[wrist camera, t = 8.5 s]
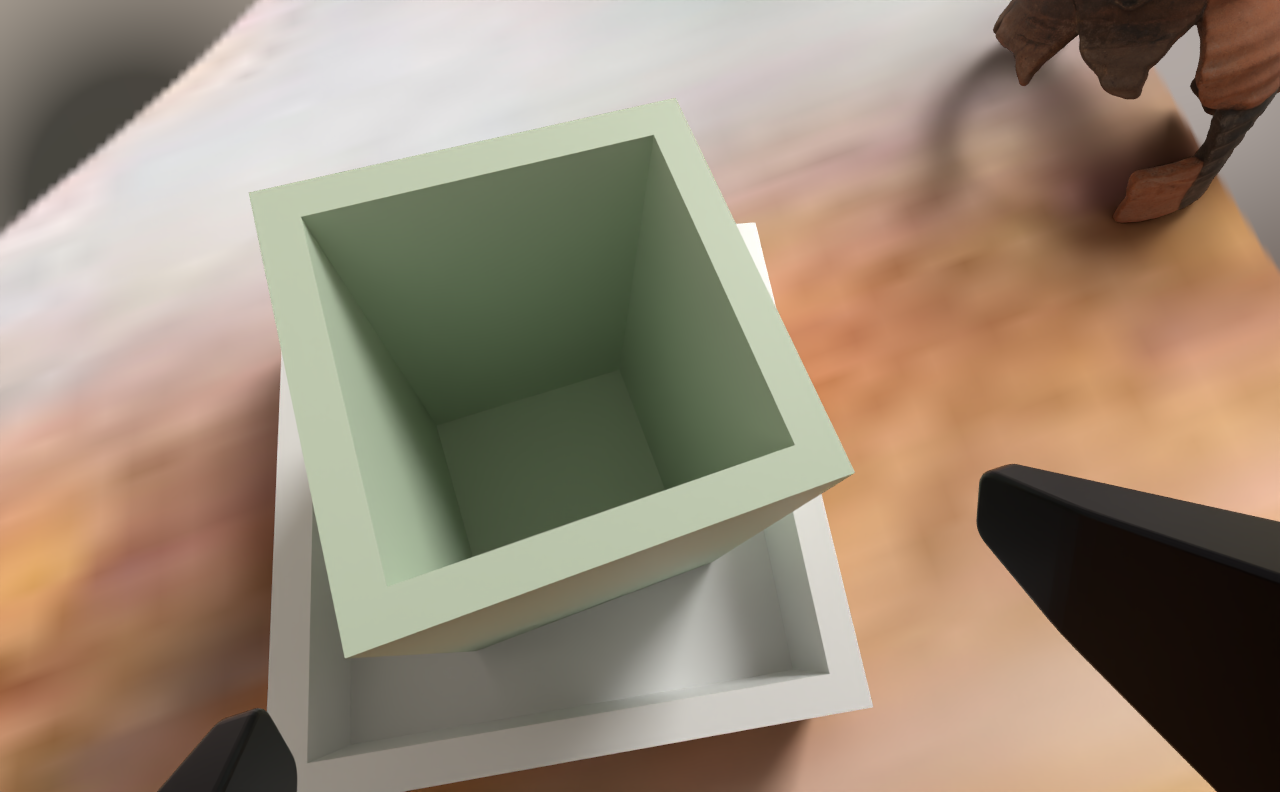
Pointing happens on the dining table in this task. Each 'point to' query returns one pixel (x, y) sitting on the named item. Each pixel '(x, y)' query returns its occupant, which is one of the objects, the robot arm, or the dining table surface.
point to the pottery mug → (1136, 41)
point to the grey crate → (558, 659)
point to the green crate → (532, 378)
